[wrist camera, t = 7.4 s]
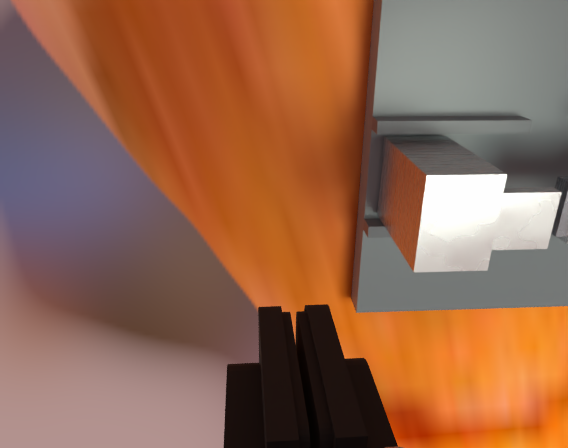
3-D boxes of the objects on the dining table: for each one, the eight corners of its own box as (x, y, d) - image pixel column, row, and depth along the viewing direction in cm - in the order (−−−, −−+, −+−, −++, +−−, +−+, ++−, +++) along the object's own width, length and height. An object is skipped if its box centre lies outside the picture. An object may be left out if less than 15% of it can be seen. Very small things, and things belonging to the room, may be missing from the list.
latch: (495, 135, 23) (570, 173, 18) (480, 212, 25) (545, 269, 19) (384, 136, 23) (426, 175, 17) (377, 214, 24) (413, 272, 19)
